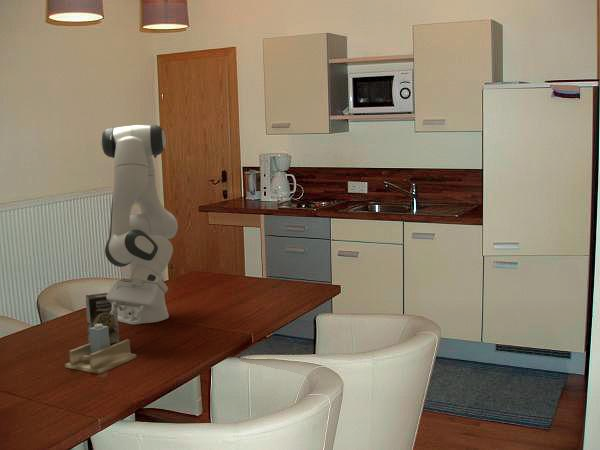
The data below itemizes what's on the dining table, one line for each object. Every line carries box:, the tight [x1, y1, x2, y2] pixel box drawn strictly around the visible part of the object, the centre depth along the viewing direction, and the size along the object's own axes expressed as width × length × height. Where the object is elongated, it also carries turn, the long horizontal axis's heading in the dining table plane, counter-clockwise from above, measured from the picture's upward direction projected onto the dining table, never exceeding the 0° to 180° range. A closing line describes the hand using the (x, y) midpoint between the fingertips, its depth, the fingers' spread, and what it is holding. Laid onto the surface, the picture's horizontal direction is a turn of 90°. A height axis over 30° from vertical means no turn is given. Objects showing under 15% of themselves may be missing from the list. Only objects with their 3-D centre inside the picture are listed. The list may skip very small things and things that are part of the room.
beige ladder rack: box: [64, 337, 137, 374], centre depth 229 cm, size 14×16×5 cm
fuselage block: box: [89, 324, 111, 354], centre depth 228 cm, size 4×4×11 cm
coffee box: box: [85, 292, 120, 345], centre depth 249 cm, size 9×6×16 cm
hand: (123, 317), depth 237 cm, fingers open, 8 cm apart
